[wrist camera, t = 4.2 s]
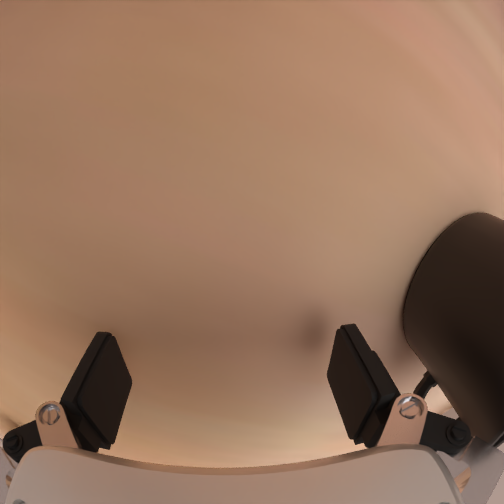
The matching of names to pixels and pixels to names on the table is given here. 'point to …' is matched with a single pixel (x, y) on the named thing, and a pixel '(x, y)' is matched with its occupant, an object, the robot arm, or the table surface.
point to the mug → (463, 322)
